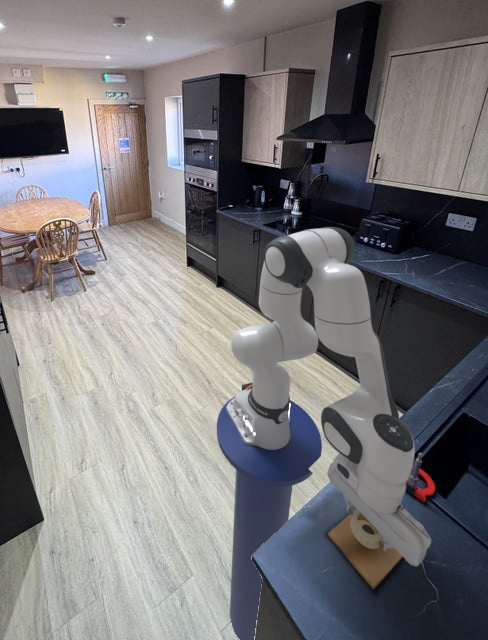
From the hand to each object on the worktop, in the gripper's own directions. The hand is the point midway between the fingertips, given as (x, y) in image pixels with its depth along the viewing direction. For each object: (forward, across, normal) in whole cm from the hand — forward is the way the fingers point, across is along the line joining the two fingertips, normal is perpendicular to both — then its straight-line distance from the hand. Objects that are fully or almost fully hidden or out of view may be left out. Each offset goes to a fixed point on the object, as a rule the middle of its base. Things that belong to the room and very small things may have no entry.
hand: (366, 528), depth 72 cm
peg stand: (+5, -1, 0) cm, 5 cm away
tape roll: (+1, 0, 0) cm, 1 cm away
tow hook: (+6, +1, -25) cm, 25 cm away
